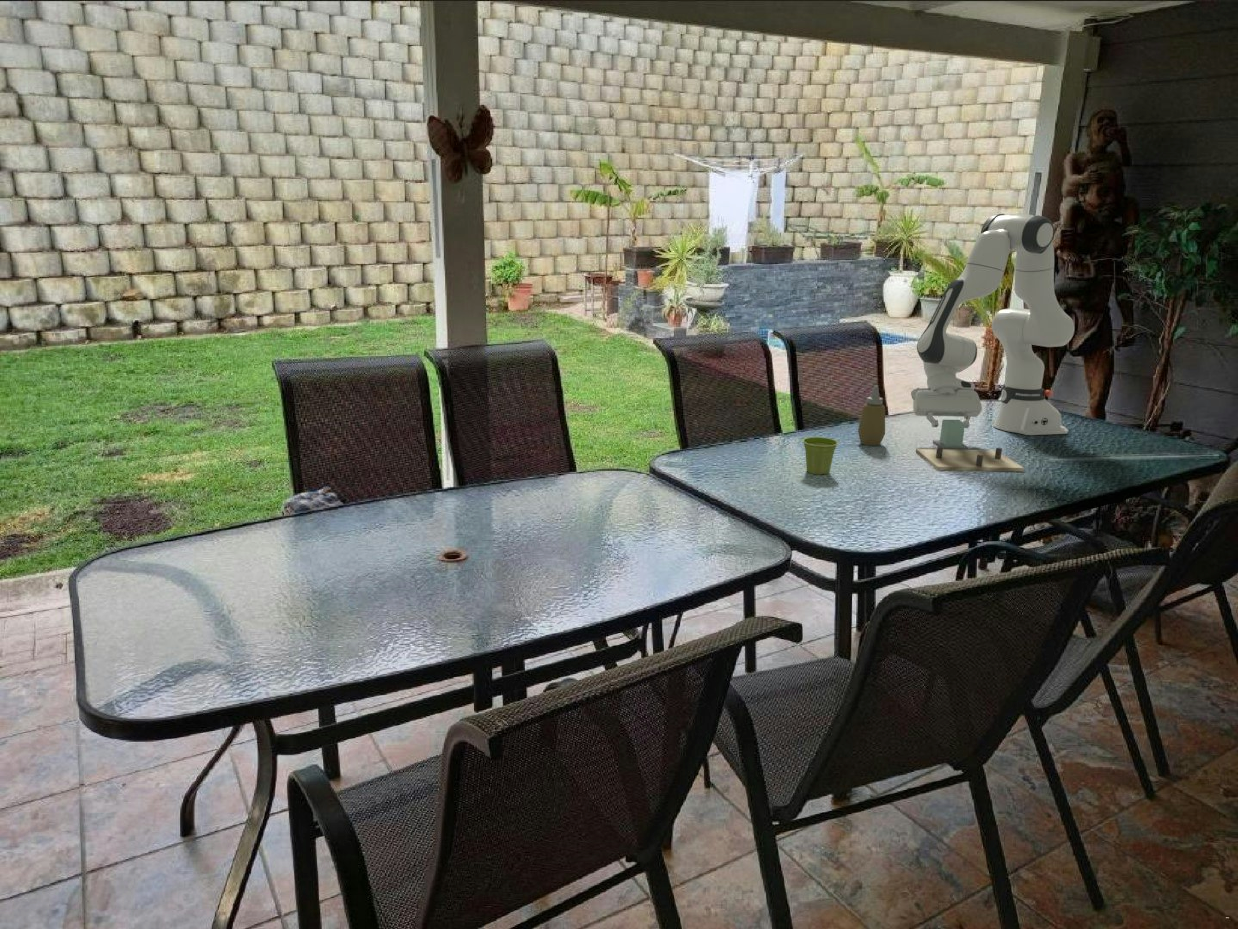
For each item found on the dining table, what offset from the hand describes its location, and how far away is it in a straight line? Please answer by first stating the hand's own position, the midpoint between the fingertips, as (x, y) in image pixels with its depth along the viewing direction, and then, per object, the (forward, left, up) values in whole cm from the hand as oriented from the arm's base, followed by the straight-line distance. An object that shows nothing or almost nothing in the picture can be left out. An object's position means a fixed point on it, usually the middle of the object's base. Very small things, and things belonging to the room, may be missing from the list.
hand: (950, 426), depth 262 cm
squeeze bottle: (+24, -1, -6) cm, 25 cm away
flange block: (0, +1, -6) cm, 6 cm away
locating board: (+1, +17, -6) cm, 18 cm away
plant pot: (+47, +29, -6) cm, 55 cm away
